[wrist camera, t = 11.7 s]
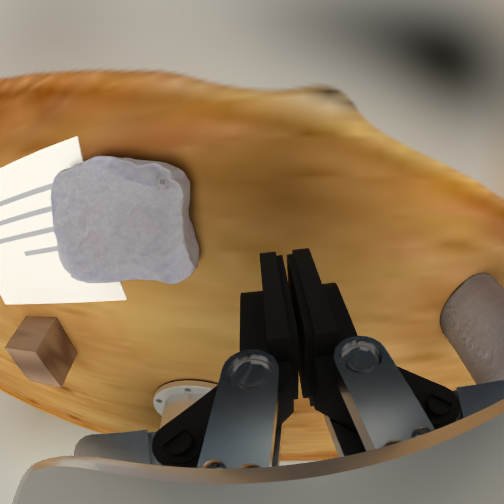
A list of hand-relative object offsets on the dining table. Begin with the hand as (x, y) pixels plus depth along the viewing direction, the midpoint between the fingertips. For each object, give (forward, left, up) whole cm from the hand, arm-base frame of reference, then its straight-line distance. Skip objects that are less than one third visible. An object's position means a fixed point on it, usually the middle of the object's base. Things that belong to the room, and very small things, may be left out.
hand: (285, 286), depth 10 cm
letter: (-1, +24, -13) cm, 28 cm away
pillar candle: (-16, -25, -13) cm, 33 cm away
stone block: (0, +11, -13) cm, 17 cm away
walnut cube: (-15, +28, -13) cm, 34 cm away
